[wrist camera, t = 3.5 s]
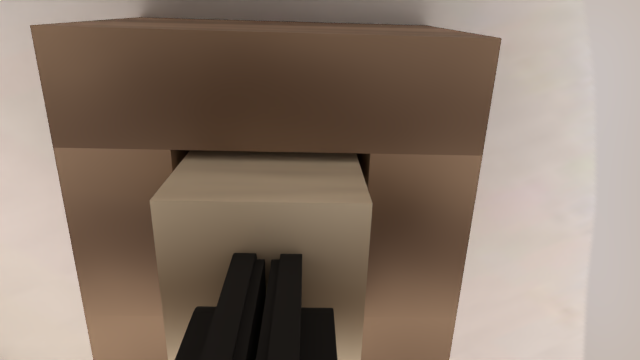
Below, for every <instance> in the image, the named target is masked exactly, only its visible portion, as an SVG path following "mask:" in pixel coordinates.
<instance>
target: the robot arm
mask: <svg viewBox="0 0 640 360" xmlns="http://www.w3.org/2000/svg"><path fill="white" fill-rule="evenodd" d="M175 360H337V347H336V334H335V322H334V310H333V308H304V307H302V254H280V259H272V260H271V266H270V272H269V279H268V285H267V292H266V285H265V259H257V254H256V253H233V256H232V259H231V262H230V265H229V268H228V272H227V275H226V278H225V281H224V284H223V287H222V290H221V294H220V297H219V300H218V303H217V306H216V307H211V306H197V307H196V308H195V310H194V311H193V314H192V316H191V319H190V322H189V324H188V327H187V329H186V332H185V335H184V337H183V340H182V342H181V345H180V347H179V350H178V353H177V355H176V358H175Z"/></svg>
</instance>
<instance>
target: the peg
mask: <svg viewBox="0 0 640 360" xmlns="http://www.w3.org/2000/svg"><path fill="white" fill-rule="evenodd" d="M372 205H373V203H372V200H371V197H370V194H369V191H368V188H367V185H366V182H365V179H364V176H363V173H362V170H361V167H360V164H359V161H358V158H357V155H356V153H313V152H259V151H206V150H190V151H189V152H188V154H187V155H186V156H185V157H184V159H183V160H182V161H181V162H180V163H179V165H178V166H177V167H176V168H175V170H174V171H173V172H172V173H171V175H170V176H169V177H168V178H167V180H166V181H165V182H164V183H163V185H162V186H161V187H160V188H159V189H158V191H157V192H156V193H155V194H154V196H153V197H152V198H151V199H150V208H151V217H152V225H153V234H154V243H155V251H156V260H157V269H158V277H159V286H160V295H161V303H162V312H163V320H164V329H165V338H166V346H167V355H168V360H175V358H176V355H177V353H178V350H179V347H180V345H181V342H182V340H183V337H184V335H185V332H186V329H187V327H188V324H189V322H190V319H191V316H192V314H193V311H194V310H195V308H196V307H197V306H211V307H216V306H217V303H218V300H219V297H220V294H221V290H222V287H223V284H224V281H225V278H226V275H227V272H228V268H229V265H230V262H231V259H232V256H233V253H256V254H257V259H265V285H266V292H267V285H268V279H269V272H270V266H271V260H272V259H280V254H302V307H304V308H333V310H334V322H335V334H336V347H337V360H361V351H362V338H363V324H364V311H365V298H366V285H367V271H368V258H369V245H370V232H371V218H372Z"/></svg>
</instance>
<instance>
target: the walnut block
mask: <svg viewBox="0 0 640 360" xmlns="http://www.w3.org/2000/svg"><path fill="white" fill-rule="evenodd" d="M30 28H31V33H32V38H33V44H34V49H35V54H36V59H37V65H38V70H39V75H40V80H41V86H42V91H43V96H44V102H45V107H46V112H47V117H48V123H49V128H50V133H51V139H52V144H53V149H54V154H55V160H56V165H57V170H58V175H59V181H60V186H61V191H62V197H63V202H64V207H65V212H66V218H67V223H68V228H69V233H70V239H71V244H72V249H73V255H74V260H75V265H76V270H77V276H78V281H79V286H80V291H81V297H82V302H83V307H84V313H85V318H86V323H87V328H88V334H89V339H90V344H91V350H92V355H93V360H168V355H167V346H166V338H165V329H164V320H163V312H162V303H161V295H160V286H159V277H158V269H157V260H156V251H155V243H154V234H153V225H152V217H151V208H150V199H151V198H152V197H153V196H154V194H155V193H156V192H157V191H158V189H159V188H160V187H161V186H162V185H163V183H164V182H165V181H166V180H167V178H168V177H169V176H170V175H171V173H172V172H173V171H174V170H175V168H176V167H177V166H178V165H179V163H180V162H181V161H182V160H183V159H184V157H185V156H186V155H187V154H188V152H189V151H190V150H206V151H259V152H313V153H356V155H357V158H358V161H359V164H360V167H361V170H362V173H363V176H364V179H365V182H366V185H367V188H368V191H369V194H370V197H371V200H372V203H373V205H372V218H371V232H370V245H369V258H368V271H367V285H366V298H365V311H364V324H363V338H362V351H361V360H449V357H450V351H451V345H452V339H453V333H454V326H455V320H456V314H457V308H458V302H459V296H460V290H461V284H462V277H463V271H464V265H465V259H466V253H467V247H468V241H469V234H470V228H471V222H472V216H473V210H474V204H475V198H476V191H477V185H478V179H479V173H480V167H481V161H482V155H483V149H484V142H485V136H486V130H487V124H488V118H489V112H490V106H491V99H492V93H493V87H494V81H495V75H496V69H497V63H498V56H499V50H500V44H501V38H496V37H490V36H485V35H479V34H473V33H467V32H461V31H455V30H449V29H444V28H438V27H432V26H425V25H389V24H354V23H319V22H284V21H249V20H214V19H179V18H143V17H138V18H124V19H111V20H97V21H83V22H69V23H56V24H42V25H30Z"/></svg>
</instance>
